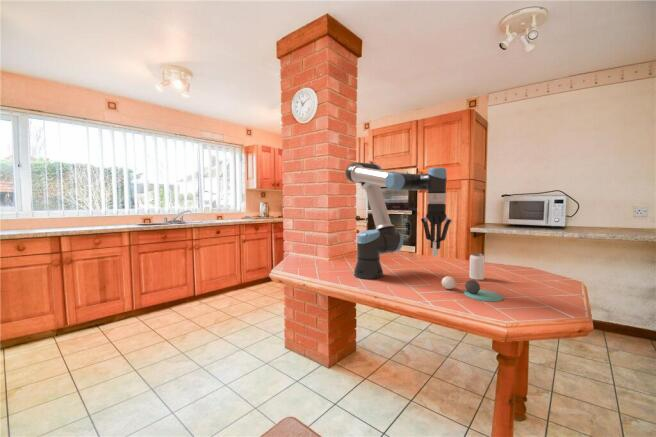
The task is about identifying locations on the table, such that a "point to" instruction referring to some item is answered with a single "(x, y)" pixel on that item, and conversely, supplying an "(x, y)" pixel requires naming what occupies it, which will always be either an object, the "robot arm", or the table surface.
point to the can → (477, 266)
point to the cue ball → (448, 282)
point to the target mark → (485, 296)
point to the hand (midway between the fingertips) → (435, 255)
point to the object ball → (472, 286)
